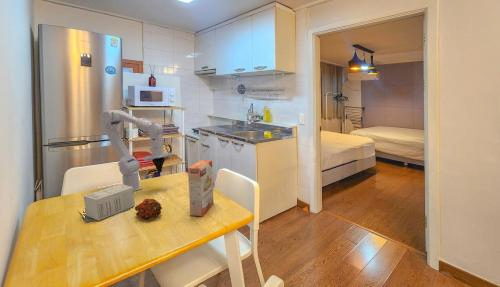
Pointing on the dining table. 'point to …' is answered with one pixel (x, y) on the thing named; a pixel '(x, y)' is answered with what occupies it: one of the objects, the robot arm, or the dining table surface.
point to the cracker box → (200, 187)
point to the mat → (89, 219)
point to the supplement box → (109, 201)
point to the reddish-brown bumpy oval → (148, 208)
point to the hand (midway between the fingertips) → (159, 172)
